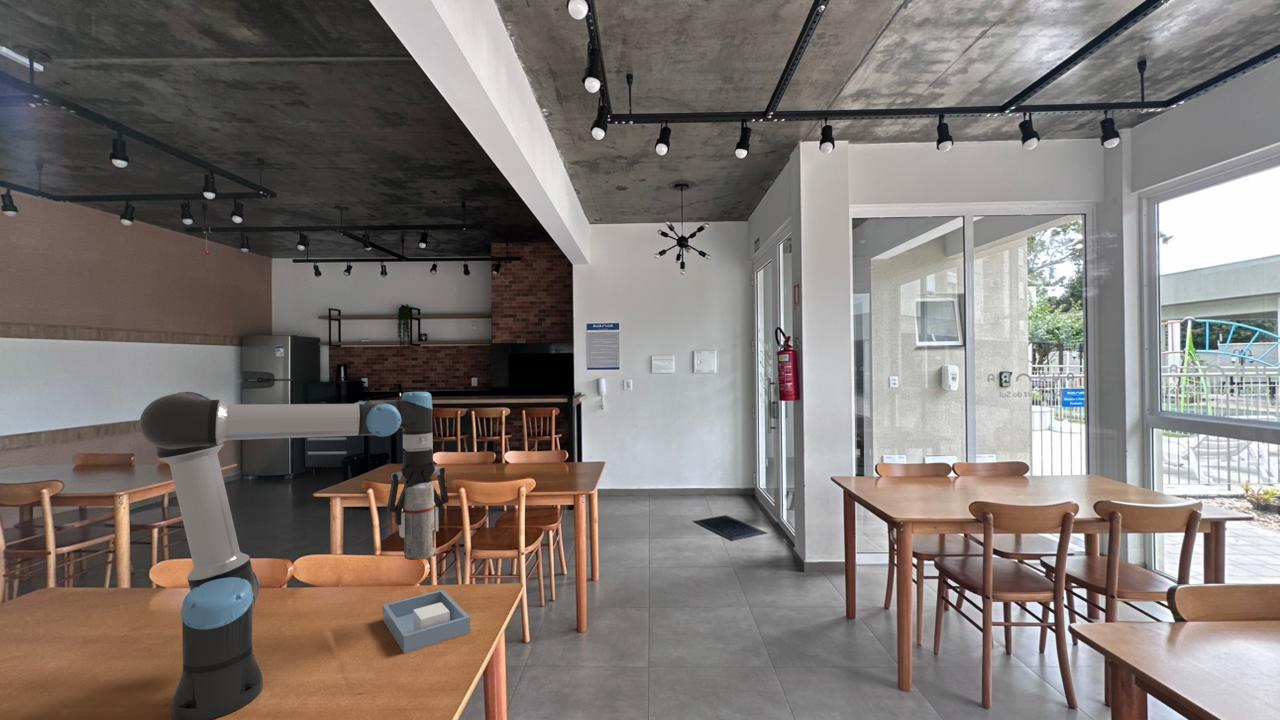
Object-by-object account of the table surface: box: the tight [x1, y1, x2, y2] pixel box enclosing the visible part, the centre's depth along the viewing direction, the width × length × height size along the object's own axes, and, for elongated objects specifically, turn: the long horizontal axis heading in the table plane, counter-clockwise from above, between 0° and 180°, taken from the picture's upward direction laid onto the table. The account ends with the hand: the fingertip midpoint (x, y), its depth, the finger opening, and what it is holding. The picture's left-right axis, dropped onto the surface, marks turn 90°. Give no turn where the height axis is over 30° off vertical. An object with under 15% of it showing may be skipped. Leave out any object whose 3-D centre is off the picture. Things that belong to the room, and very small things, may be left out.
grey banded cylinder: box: [402, 481, 436, 561], centre depth 149 cm, size 8×8×20 cm
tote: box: [382, 589, 471, 654], centre depth 144 cm, size 16×22×5 cm
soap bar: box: [413, 602, 450, 632], centre depth 140 cm, size 7×7×6 cm
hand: (419, 533), depth 149 cm, fingers closed on grey banded cylinder, 8 cm apart
